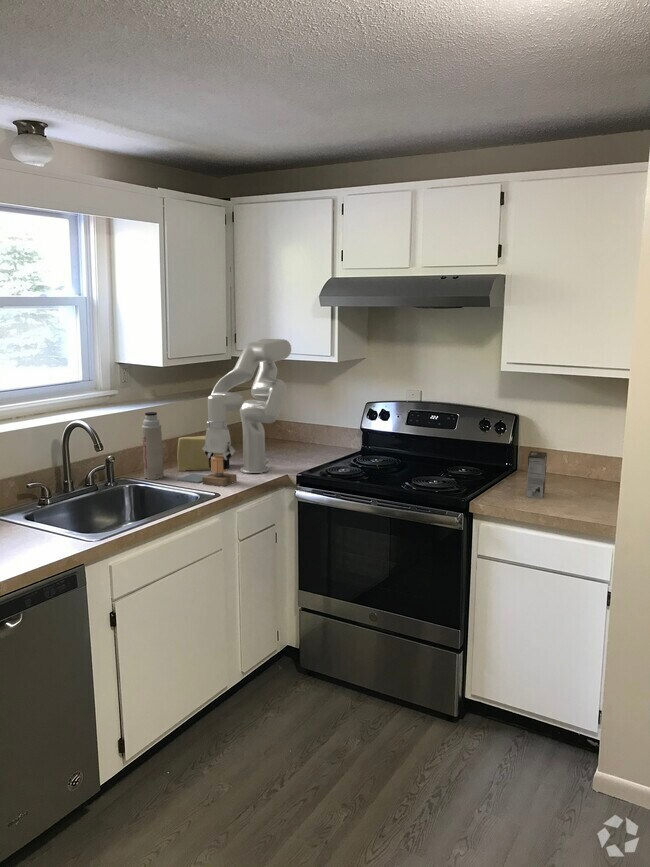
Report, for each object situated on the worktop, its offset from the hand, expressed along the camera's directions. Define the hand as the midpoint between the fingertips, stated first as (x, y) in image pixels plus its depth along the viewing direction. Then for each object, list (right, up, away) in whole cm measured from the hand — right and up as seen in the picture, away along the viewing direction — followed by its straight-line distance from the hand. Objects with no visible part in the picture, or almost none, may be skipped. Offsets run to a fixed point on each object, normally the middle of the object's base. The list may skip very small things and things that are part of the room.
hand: (219, 467), depth 297 cm
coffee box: (+124, -10, -20) cm, 126 cm away
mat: (-11, -5, +8) cm, 15 cm away
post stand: (0, -6, +1) cm, 6 cm away
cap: (0, -1, 0) cm, 1 cm away
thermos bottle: (-30, -5, +11) cm, 32 cm away
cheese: (-11, -2, +26) cm, 28 cm away
